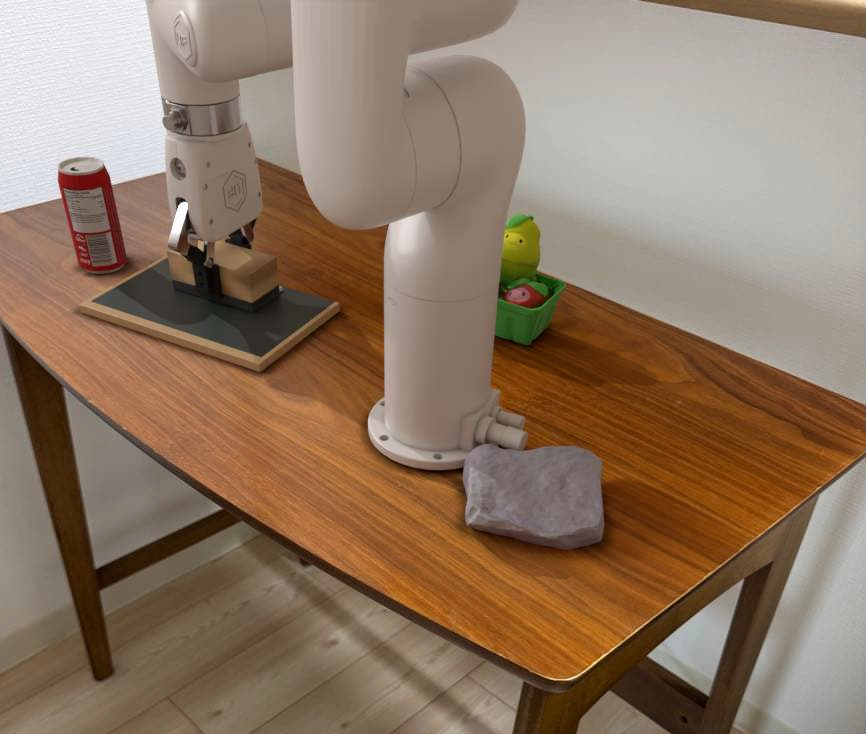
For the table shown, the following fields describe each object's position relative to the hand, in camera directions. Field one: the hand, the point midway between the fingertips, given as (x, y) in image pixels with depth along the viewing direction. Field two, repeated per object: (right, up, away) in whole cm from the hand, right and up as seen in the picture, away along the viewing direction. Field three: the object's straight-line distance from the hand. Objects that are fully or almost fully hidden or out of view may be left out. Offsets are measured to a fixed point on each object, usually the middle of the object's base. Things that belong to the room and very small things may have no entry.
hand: (226, 284), depth 101 cm
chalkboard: (-1, -3, -1) cm, 4 cm away
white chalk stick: (+4, 0, +2) cm, 4 cm away
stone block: (+31, -26, -25) cm, 48 cm away
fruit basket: (+31, -5, 0) cm, 31 cm away
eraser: (0, -1, +1) cm, 1 cm away
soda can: (-16, +4, +7) cm, 18 cm away
